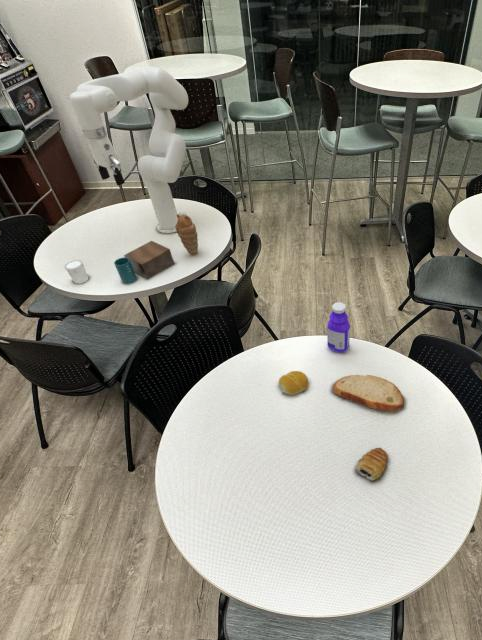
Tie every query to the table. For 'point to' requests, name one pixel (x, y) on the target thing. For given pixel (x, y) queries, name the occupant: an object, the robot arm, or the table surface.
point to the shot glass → (77, 271)
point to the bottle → (338, 329)
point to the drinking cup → (125, 270)
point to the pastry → (372, 464)
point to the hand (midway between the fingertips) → (113, 181)
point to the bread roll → (293, 382)
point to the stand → (150, 259)
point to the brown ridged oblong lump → (187, 233)
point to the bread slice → (370, 392)
